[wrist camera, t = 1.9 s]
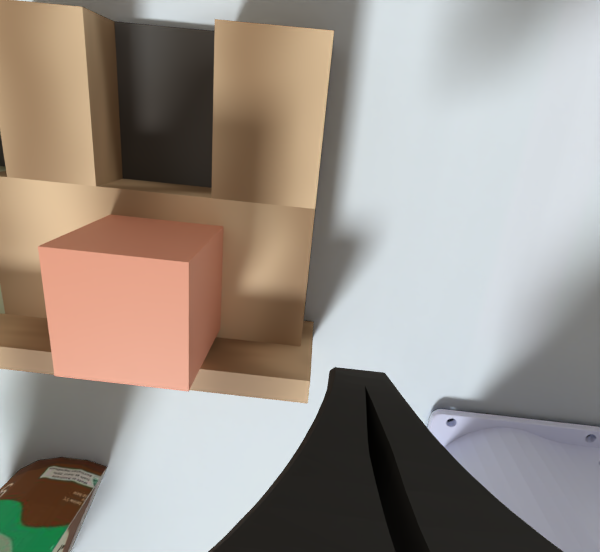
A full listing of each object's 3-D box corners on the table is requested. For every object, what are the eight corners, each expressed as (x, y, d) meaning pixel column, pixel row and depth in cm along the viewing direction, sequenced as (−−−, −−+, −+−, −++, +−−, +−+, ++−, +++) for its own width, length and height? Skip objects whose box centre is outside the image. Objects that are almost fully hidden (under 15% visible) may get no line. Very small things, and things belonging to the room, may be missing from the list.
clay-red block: (223, 226, 17) (188, 262, 12) (220, 328, 18) (188, 391, 14) (110, 214, 17) (37, 246, 12) (117, 317, 18) (54, 376, 14)
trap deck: (345, 44, 16) (353, 14, 12) (311, 339, 21) (307, 403, 16) (-169, -5, 17) (-360, -53, 12) (-93, 295, 21) (-211, 344, 17)
